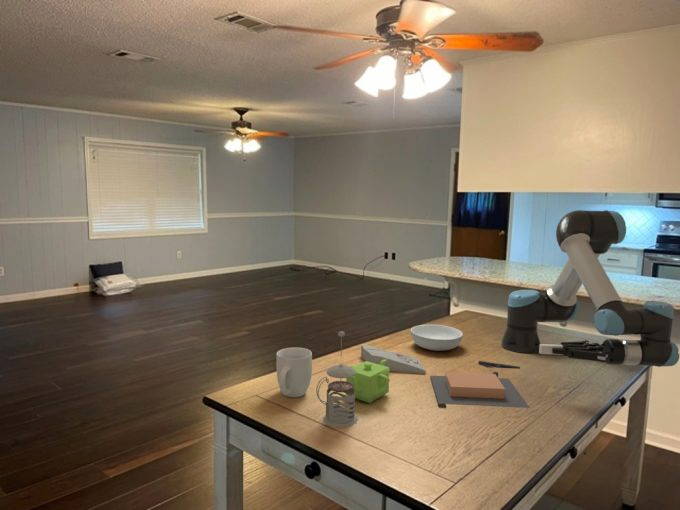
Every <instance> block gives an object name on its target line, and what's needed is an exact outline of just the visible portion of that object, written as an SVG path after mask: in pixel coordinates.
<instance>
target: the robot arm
mask: <svg viewBox="0 0 680 510" xmlns="http://www.w3.org/2000/svg"><path fill="white" fill-rule="evenodd" d="M626 225H627V224H626V221H625V219H624V217H623V215H621V213H620V212H618V211H615V210H608V209H606V210H605V209H604V210H583V209H582V210H578V209H576V210H572V211H569V212H568V213H566V214H565V215H563V216H562V218H561V219H559V221H558V224H557V226H556V230H555V236H556V237H555V238H556V242H557V244H558V245H557V246H558V247H559V248H560V251H561V252H562V253H565V254H567V257H568V259H567V260H566V262H565V265H564V266H563V268H562V269H561V271H560V273H559V274H558V275H559V276H558V277H557V279H556V281H555V282H554V284H551V285H549V286H548V287H547V289H546V290H545V293H540V292H539V291H537V290H535V289H519V290H514V291H512V292H511V293H510V294H509V296H508V301H507V315H506V316H507V317H506V318H507V319H506V328H505V330H504V333H503V335H502V338H501V347H502V348H503V349H506V350H508V351H512V352H517V353H522V354H523V353H524V354H525V353H526V354H529V353H531V354H532V353H533V354H534V353H537V352H538V353H539V354H540V355H553V356H554V355H555V356H557V355H558V356H565V357H568V358H569V359H573V360H574V359H576V360H585V361H593V362H599V363H602V364H603V363H606V364H607V365H616V366H617V365H619V366H620V365H624V366H627V367H631V366H648V367H659V368H661V367H673V366H675V365H676V364H677V363H678V362H679V359H680V352H679V351H680V350H679V349H680V348H679V347H678V345H677V344H676V343H675V342H674V341H671V336H672V330H673V329H672V328H673V322H674V313H675V312H674V306H673V305H672V304H670V303H669V302H664V301H660V300H659V301H658V300H648V301H647V300H646V301H645V302H644V303H643V307H642V308H627V307H626V305H625V303H624V301H623V300H622V298H621V297H620V295H619V293H618V292H617V290H616V288H615V286H614V284H613V283H612V280H611V279H610V277H609V275H608V274H607V272H606V271H605V270H606V269H604V266H603V265H602V264H601V262H600V260H599V257H600V256H601V255H604V254H606V253H607V252H608V250H609V249H610V247H611V246H612V245H618V244H620V243H622V242H623V241H624V240H625V238H626V236H627V226H626ZM582 285H583V287H584V289H585V291H586V293H587V295H588V296H589V299H590V300H591V302H592V305H593V306H594V308H595V310H596V313H595V314H594V318H593V322H594V327H595V329H596V331H597V332H598V333H599V334H602V335H603V336H615V337H616V336H617V337H618V336H626V335H627V336H628V335H634V336H635V335H637V336H638V335H640V339H638V340H637V339H623V338H621V339H616V338H613V339H612V338H607V339H605V340H604V341H603V343H602V344H600V343H599V342H592V343H590V341H589V340H587V339H586V340H582V341H581V340H580V341H561V342H560V344H554V343H553V344H551V343H549V344H548V343H547V344H546V343H541V340H540V337H539V333H538V324H539V323H563V322H564V323H565V322H570V321H572V320H573V319H575V317H576V316H577V314H578V311H579V309H578V308H579V302H578V297H577V294H578V292H579V290H581V289H580V288H581V287H582Z"/></svg>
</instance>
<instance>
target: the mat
mask: <svg viewBox="0 0 680 510" xmlns="http://www.w3.org/2000/svg"><path fill="white" fill-rule="evenodd" d="M429 377H430V378H429V379H430V382H431V386H432V388H433V392H434V396H435V399H436V403H437V406H438V407H439V408H440V407H441V408H447V405H459V406H460V405H462V406H464V405H465V406H479V407H480V406H482V407H484V406H485V407H486V406H487V407H504V408H506V407H507V408H509V407H511V408H528V409H529V408H530V406H529V405H528V403H527V402H526V400H525V399H524V398H523V396H522V395H521V394H520V392H519V391H518V390H517V388H516V386H515V385H514V383H513V382H512V381H511V379H510V378H502V377H501V378H500V377H497V378H498V379H499V381H500V382H501V384H502V385H503V387H504V388H505V398H503V399H498V398H475V397H452V396H450V393H449V390H448V388H447V385H446V382H445V375H430V376H429Z"/></svg>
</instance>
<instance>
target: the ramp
mask: <svg viewBox="0 0 680 510" xmlns="http://www.w3.org/2000/svg"><path fill="white" fill-rule="evenodd" d="M361 356H362V357H361ZM360 357H361V358H362V359H364V360H365V361H368V362H371V363H375V364H380V362H381V361H382V360H384V359H386V362H385V364H384V366H386V367H389V372H391V371H392V372H398V373H410V374H419V375H426V371H427V370H426V369H425V367H424V366H423V364H422V363H421V361H420V360H419V358H417V357H415V356H411V355H407V354H405V353H403V354H402V353H398V352H394V351H391V350H390V351H389V350H384V349H381V348H377V347H375V346H372V345H368V344H361V347H360ZM364 360H363V361H364ZM365 361H364V362H365Z"/></svg>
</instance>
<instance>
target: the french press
mask: <svg viewBox="0 0 680 510" xmlns="http://www.w3.org/2000/svg"><path fill="white" fill-rule="evenodd" d="M337 336H338V337H340V356H342V352H343V351H342V348H343V347H342V346H343V344H342V341H343V337H345V336H346V333H345V331H341V330H340V331H339V332H338V333H337ZM325 371H326V375H327V376H329V377H330V378H335V379H340V380H336V381H335V380H334V381H331V382H330V381H329V378H328V377H327V376H324V377H323V378H321V379H320V380H318V383H317V385H316V396H317V399H318V400H319V402H321V403H322V404H323V405H325V415H324V416H323V418H322V422H323V423H324V424H325V425H327V426H330V427H332V428H336V429H337V428H338V429H340V428H341V429H343V428H344V429H345V428H349V427H353V426H355V425H356V424H357V423H358V422H357V421H359V419H358V416H357V415H356V414H355V405H356V402H355V400H356V399H355V390H354V389H353V388H354V385H353V384H352V383H350V382H347V381H346V380H342V379H346V378H348V377H352V376H354V375H355V373H356V371H355V370H354V369H353V368H352V367H349V365H346V364H337V365H333V366H331V367H329V368H328V369H326V370H325ZM324 382H326V383H327V387H328V388H327V389H326V401H325V400H322V399H321V398H320V396H319V395H320V394H319V393H320V388H321V387H322V385H323V383H324ZM346 394H350V396H348V395H346ZM337 395H338V396H337ZM354 424H355V425H354Z"/></svg>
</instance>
